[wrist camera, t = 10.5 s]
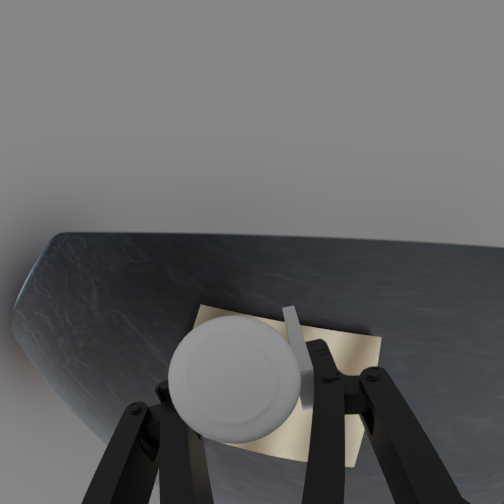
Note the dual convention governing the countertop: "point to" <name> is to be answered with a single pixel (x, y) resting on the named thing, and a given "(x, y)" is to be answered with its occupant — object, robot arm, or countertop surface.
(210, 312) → the birch board
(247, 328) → the sprinkles bottle
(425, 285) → the countertop surface
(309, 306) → the countertop surface
